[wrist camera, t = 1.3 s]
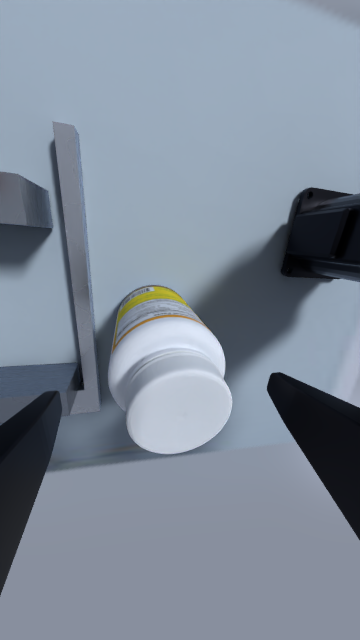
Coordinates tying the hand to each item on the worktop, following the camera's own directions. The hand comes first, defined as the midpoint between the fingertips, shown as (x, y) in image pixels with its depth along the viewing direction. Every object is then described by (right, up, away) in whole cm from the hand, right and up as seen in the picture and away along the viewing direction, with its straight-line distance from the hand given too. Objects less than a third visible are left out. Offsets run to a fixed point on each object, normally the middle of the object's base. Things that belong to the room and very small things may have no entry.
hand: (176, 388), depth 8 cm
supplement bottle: (-2, +3, +8) cm, 9 cm away
